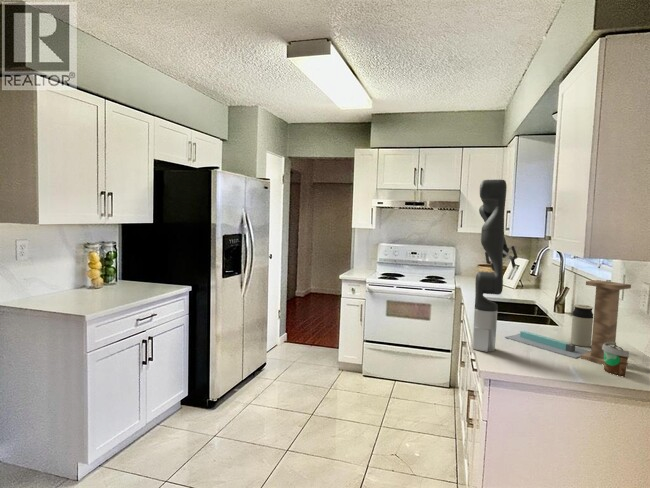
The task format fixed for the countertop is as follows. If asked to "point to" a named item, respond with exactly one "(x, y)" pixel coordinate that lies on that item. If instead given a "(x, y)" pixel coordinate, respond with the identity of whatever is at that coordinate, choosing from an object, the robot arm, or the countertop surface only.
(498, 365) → the countertop surface
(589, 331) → the travel mug
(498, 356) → the countertop surface
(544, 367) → the countertop surface
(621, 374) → the food container
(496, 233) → the robot arm
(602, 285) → the walnut stand
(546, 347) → the grey mat
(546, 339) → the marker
